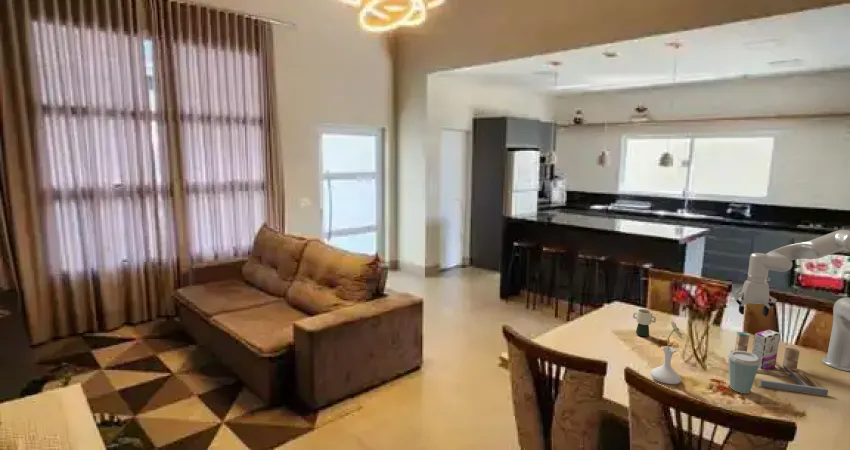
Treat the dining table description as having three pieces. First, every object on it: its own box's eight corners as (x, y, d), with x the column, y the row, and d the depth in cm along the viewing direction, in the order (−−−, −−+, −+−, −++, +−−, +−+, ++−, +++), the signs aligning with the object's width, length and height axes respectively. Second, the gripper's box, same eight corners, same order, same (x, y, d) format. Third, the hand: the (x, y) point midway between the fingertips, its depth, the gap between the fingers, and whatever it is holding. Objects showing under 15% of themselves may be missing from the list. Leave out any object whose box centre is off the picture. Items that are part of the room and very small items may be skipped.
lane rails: (799, 371, 202) (800, 366, 201) (827, 395, 182) (828, 390, 181) (740, 364, 208) (740, 358, 207) (760, 386, 187) (761, 380, 187)
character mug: (654, 335, 238) (657, 311, 235) (652, 340, 232) (655, 315, 230) (632, 330, 244) (635, 307, 242) (629, 334, 238) (632, 310, 236)
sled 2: (794, 367, 206) (797, 348, 204) (822, 392, 184) (826, 371, 183) (781, 366, 207) (784, 347, 206) (808, 390, 185) (812, 369, 184)
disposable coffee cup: (744, 398, 177) (749, 362, 175) (717, 385, 187) (722, 351, 185) (761, 394, 182) (767, 358, 179) (733, 381, 191) (739, 347, 189)
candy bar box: (763, 363, 209) (768, 329, 207) (775, 367, 205) (781, 333, 202) (748, 367, 205) (754, 332, 202) (761, 372, 200) (766, 336, 197)
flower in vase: (679, 390, 182) (687, 330, 178) (648, 381, 188) (655, 323, 184) (681, 377, 193) (689, 320, 189) (652, 369, 199) (658, 314, 195)
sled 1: (765, 354, 218) (769, 335, 217) (789, 376, 197) (793, 355, 195) (729, 350, 222) (731, 331, 221) (748, 371, 201) (751, 350, 199)
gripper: (774, 278, 216) (770, 313, 218) (733, 276, 220) (729, 310, 222) (782, 283, 208) (778, 319, 211) (739, 280, 213) (735, 315, 215)
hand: (753, 314), depth 217 cm, fingers open, 9 cm apart
